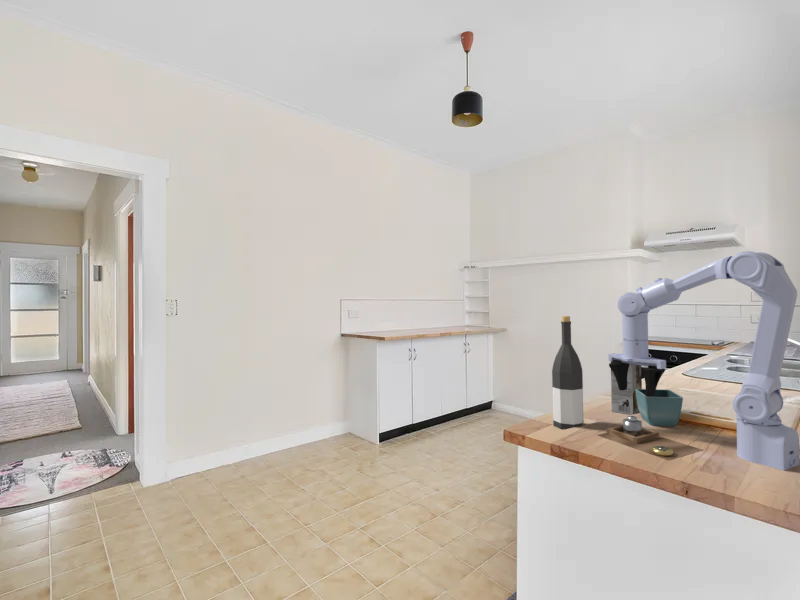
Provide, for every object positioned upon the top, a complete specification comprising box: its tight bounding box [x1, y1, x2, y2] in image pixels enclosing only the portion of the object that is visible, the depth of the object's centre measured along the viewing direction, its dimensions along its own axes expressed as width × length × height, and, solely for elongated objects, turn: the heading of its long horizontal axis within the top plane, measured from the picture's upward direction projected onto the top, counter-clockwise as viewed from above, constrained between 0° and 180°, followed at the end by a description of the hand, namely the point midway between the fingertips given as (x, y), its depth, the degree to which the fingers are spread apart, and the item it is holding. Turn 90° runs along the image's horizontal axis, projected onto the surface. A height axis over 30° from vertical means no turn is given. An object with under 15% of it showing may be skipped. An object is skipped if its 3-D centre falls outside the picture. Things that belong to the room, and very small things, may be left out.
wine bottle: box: [551, 315, 585, 430], centre depth 116 cm, size 8×8×30 cm
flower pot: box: [635, 388, 684, 427], centre depth 114 cm, size 9×9×9 cm
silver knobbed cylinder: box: [622, 415, 643, 437], centre depth 104 cm, size 4×4×5 cm
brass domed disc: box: [652, 446, 673, 457], centre depth 93 cm, size 4×4×1 cm
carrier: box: [597, 424, 704, 461], centre depth 100 cm, size 18×12×2 cm, turn 25°
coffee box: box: [610, 361, 643, 416], centre depth 129 cm, size 9×6×16 cm
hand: (636, 392), depth 109 cm, fingers open, 7 cm apart
